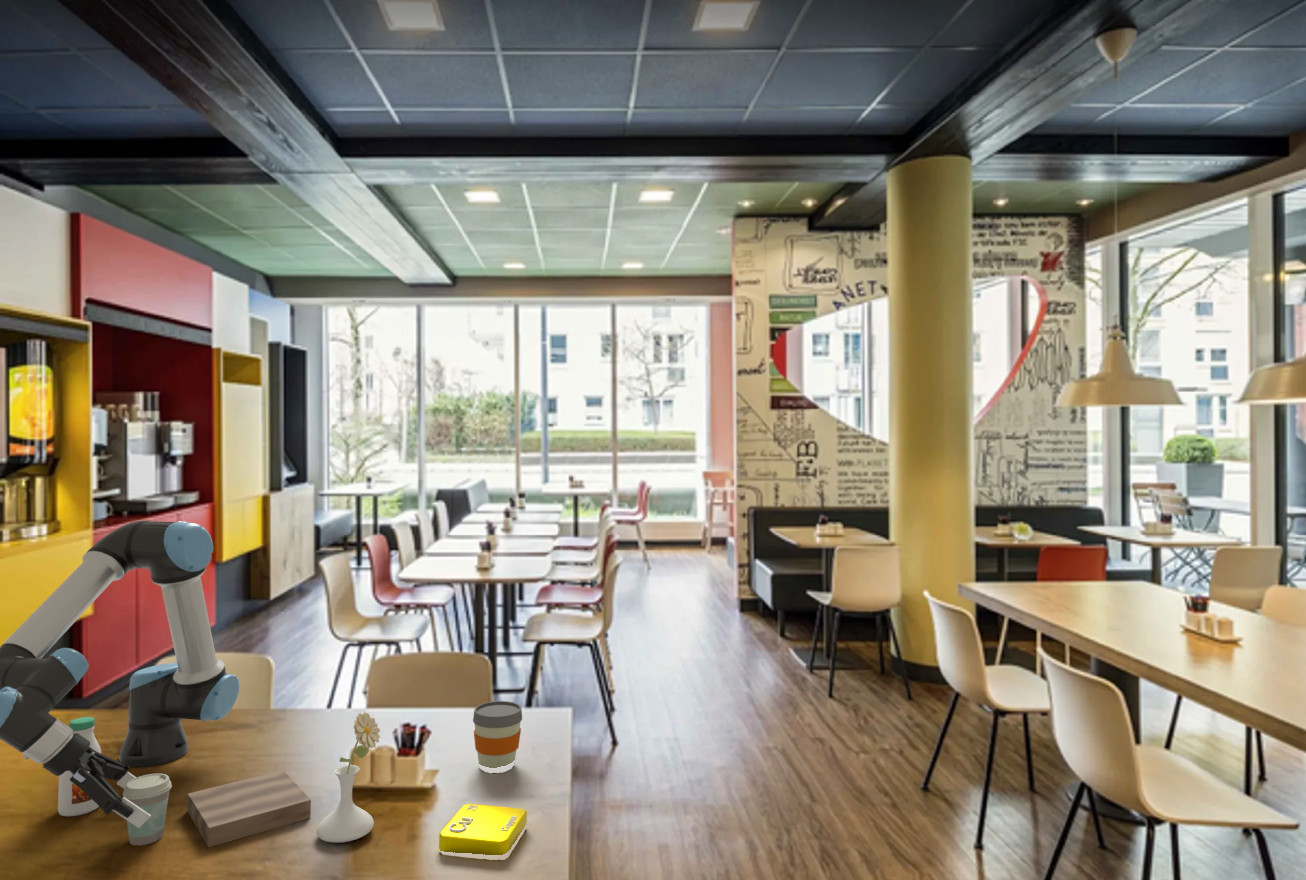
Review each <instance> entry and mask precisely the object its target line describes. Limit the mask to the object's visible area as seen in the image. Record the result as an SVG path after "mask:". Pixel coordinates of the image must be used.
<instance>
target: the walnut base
mask: <svg viewBox="0 0 1306 880" xmlns="http://www.w3.org/2000/svg"><path fill="white" fill-rule="evenodd" d="M311 801H312V799H311V798H310V797H309V796H308V794H306V793H305V792H304V790H302V789H301V788H300V787H299V786H298V784H296V783H295V781H294V780H293V779H292V778H291V777H290V776H289V775H288V774H287V773H286V772H285V770H284V769H282V770H278V771H274V772H269V773H266V774H262V775H257V776H254V777H250V778H246V779H241V780H238V781H233V782H230V783H226V784H222V785H217V786H212V787H209V788H205V789H201V790H197V791H193V792H189V793H187V813H188V815H189V817H190V816H191V817H190V819H191V820H192V819H193V820H192V822H193V821H194V822H193V824H194V825H195V826H196V828H198V829H197V830H198V832H199V834H200V835H201V837H202V838H203V841H204V842H205V844H206V846H207V847H208V848H212V847H215V846H218V845H222V844H225V843H229V842H231V841H232V840H233V841H237V840H239V839H243V838H245V837H248V836H249V837H250V836H252V835H255V834H260V833H263V832H267V831H270V830H273V829H277V828H280V827H284V826H287V825H290V824H294V823H297V822H301V821H304V820H308V819H311V814H312V813H311V812H312V810H311V808H312V807H311V806H312V802H311ZM233 841H232V842H233Z"/></svg>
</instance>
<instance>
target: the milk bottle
mask: <svg viewBox="0 0 1306 880" xmlns="http://www.w3.org/2000/svg"><path fill="white" fill-rule="evenodd" d="M68 723H69V724H68V727H70V728H71V729H73V732H72V734H74V733H78V734H79V735H81V736H82V737H84V738H85V739H87V740H88V741H89V742H90V746H89V747H90V748H92V749H93V750H95V751H96V752H99V753H101V754H102V749H101V746H100V744H99V742H98V740H97V739H96V736H95V734H94V729H95V723H96V721H95V718H94V717H92V716H83V717H79V718H74V719H72V720H71V721H69V722H68ZM72 776H73V774H72V773H71V772H70V771H65V772H64V773H63V774H62V775H59V776H58V792H57V793H58V797H57V798H58V799H57V811H58V814H59V815H60V816H62V817H76V816H77V817H78V816H82V815H86V814H88V813H91V812H93V811H95V810H96V809H98V808H100V806H99V805H97V804H96V803H95V802H94V801H93V800H92V799H91V798H90V797H89V796H88V795H87V794H86V793H85V792H84V791H83V790H82V789H81V788H79V787H78V786H77V785H76V784H74V783H73V782H71V781H70V778H71V777H72Z"/></svg>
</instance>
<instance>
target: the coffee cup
mask: <svg viewBox="0 0 1306 880" xmlns="http://www.w3.org/2000/svg"><path fill="white" fill-rule="evenodd" d="M172 787H173V785H172V781H171V780H170V777H169V775H167V774H165V773H150V774H143V775H140V776H138V777H137V776H136V778H134V779H132V780H130V781H129V782H128V783H127V784H126V787H125V789H123V793H122V798H123V797H125V798H126V799H128V800H129V801H131V802H132V803H134V804H135V805H137V806H138V807H140V808H141V809H143V810H144V811H146V812H147V813H149V814H150V815H151V817H150V818H149V819H148V820H147V821H146V822H145V823H144V824H143V825H142V826H141V827H140V828H138V827H136V826H135V825H133V824H132V823H130V822H129V821H127V820H126V822H127V833H128V843H129V844H130V845H131V846H136V845H138V846H140V847H141V846H146V845H151V844H152V843H153V844H154V843H155V842H157V841H159V840H160V839H161V838H162V837H163V836H164V835H163V834H164V829H165V823H166V817H167V808H168V802H169V798H170V797H169V796H170V790H171V788H172Z"/></svg>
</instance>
